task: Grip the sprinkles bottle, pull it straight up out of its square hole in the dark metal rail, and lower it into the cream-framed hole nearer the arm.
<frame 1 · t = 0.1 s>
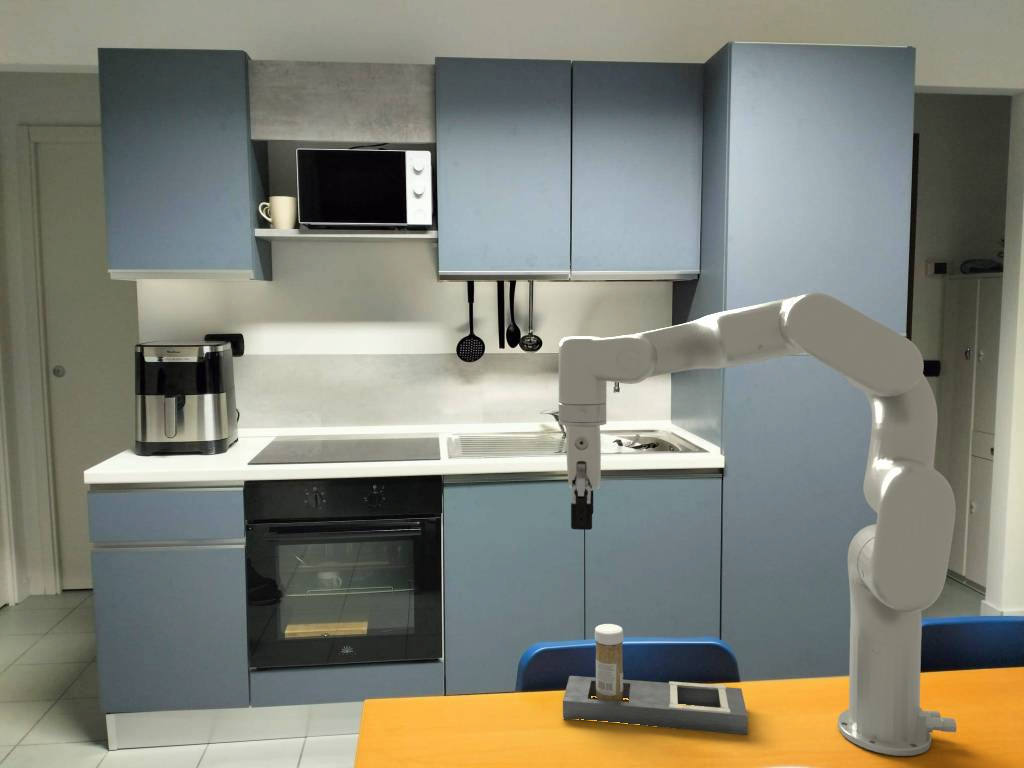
hand: (582, 521, 121), 31 cm above the table, tool pointing down, fingers open, 9 cm apart
rail: (653, 712, 122), on the table
sprinkles bottle: (609, 710, 123), resting in rail
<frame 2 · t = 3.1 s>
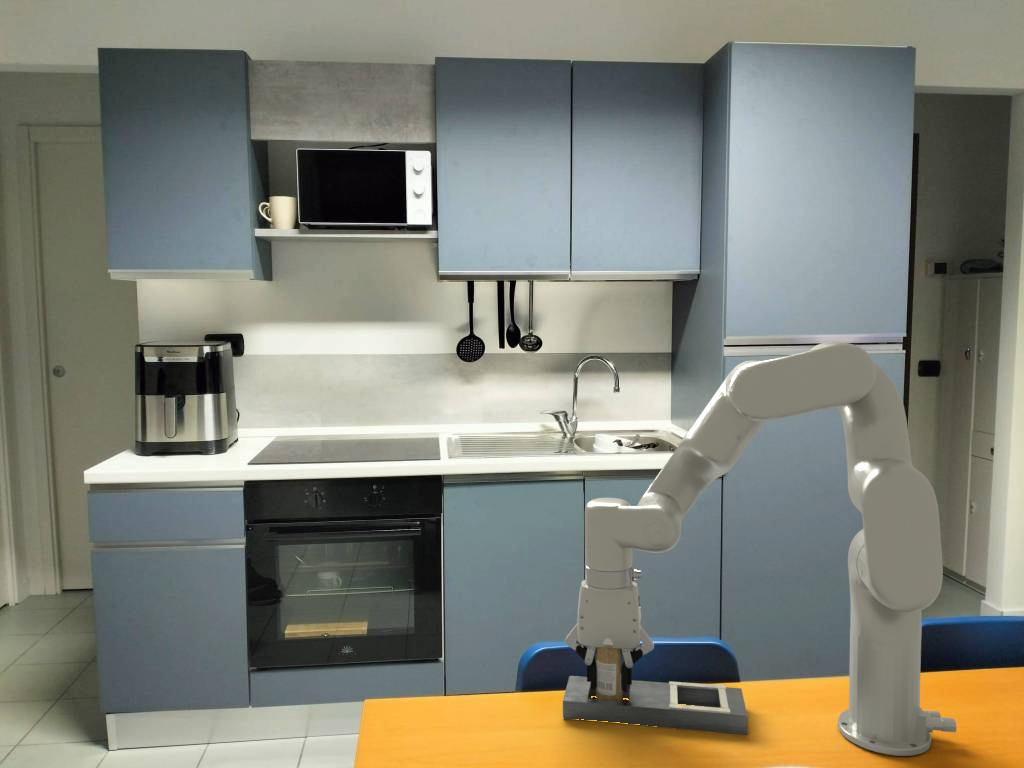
hand: (609, 685, 123), 4 cm above the table, tool pointing down, fingers closed on sprinkles bottle, 4 cm apart
sprinkles bottle: (609, 710, 123), resting in rail, touching gripper
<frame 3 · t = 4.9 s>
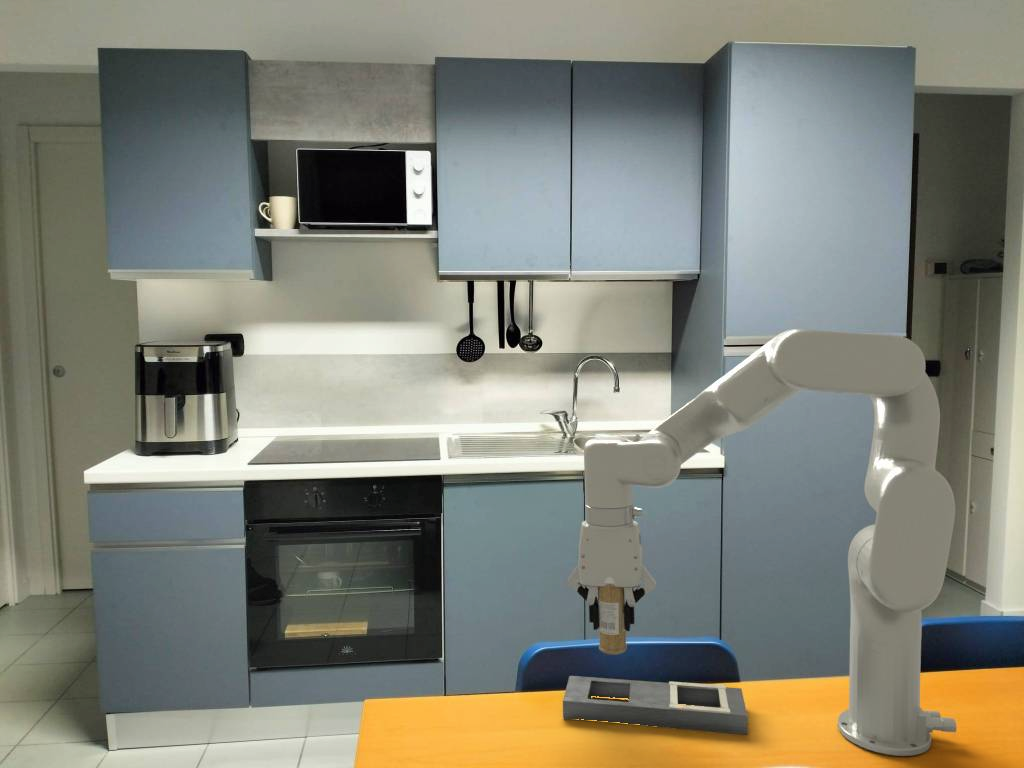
hand: (612, 626, 122), 14 cm above the table, tool pointing down, fingers closed on sprinkles bottle, 4 cm apart
sprinkles bottle: (612, 651, 122), point 10 cm above the table, touching gripper
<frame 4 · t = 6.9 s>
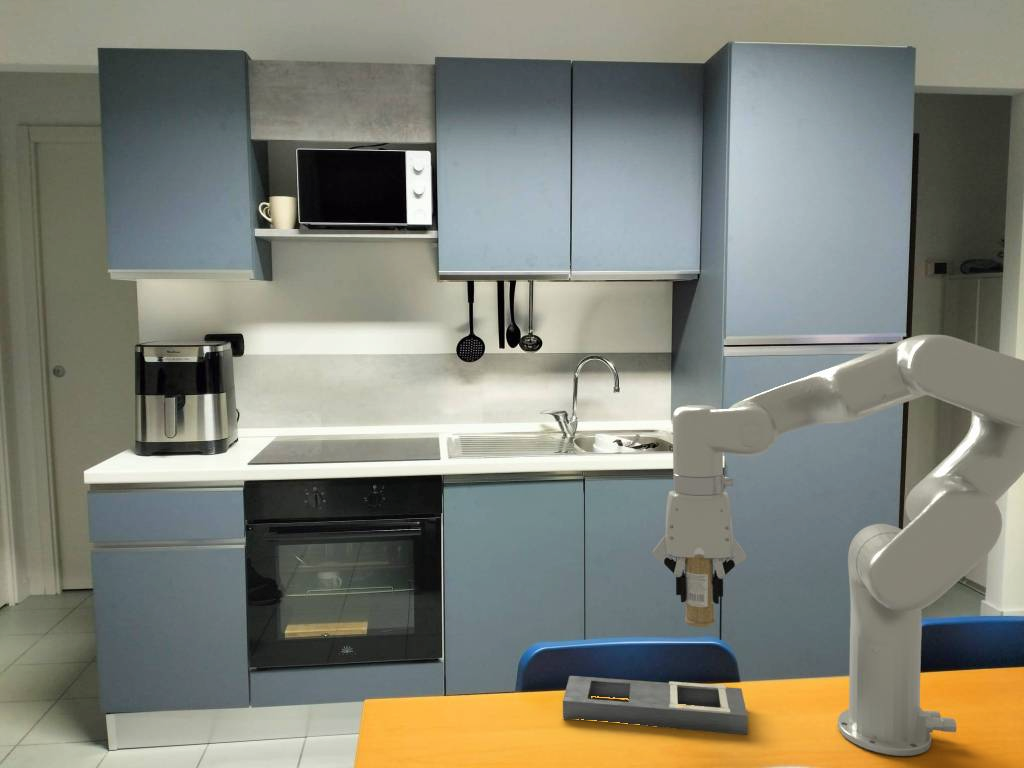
hand: (699, 599, 119), 19 cm above the table, tool pointing down, fingers closed on sprinkles bottle, 4 cm apart
sprinkles bottle: (699, 624, 119), point 15 cm above the table, touching gripper
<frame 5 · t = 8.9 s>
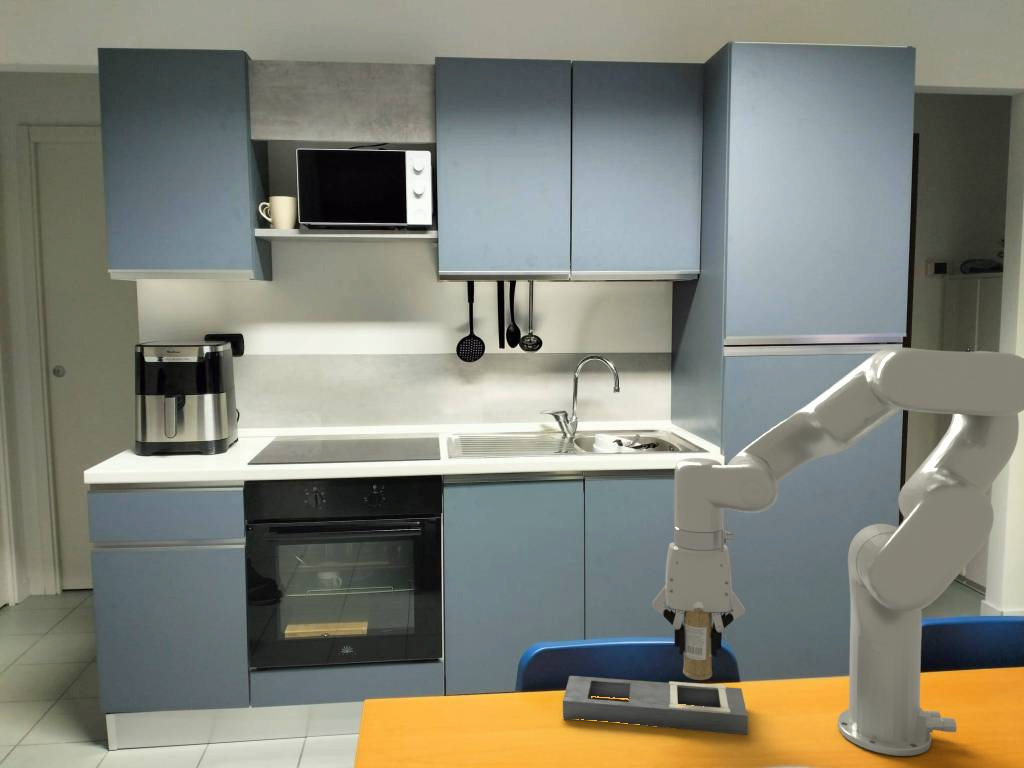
hand: (697, 651, 120), 11 cm above the table, tool pointing down, fingers closed on sprinkles bottle, 4 cm apart
sprinkles bottle: (697, 675, 120), point 7 cm above the table, touching gripper
when the fingers open (5 cm above the table, at t = 10.7 s): sprinkles bottle stays where it is, resting in rail.
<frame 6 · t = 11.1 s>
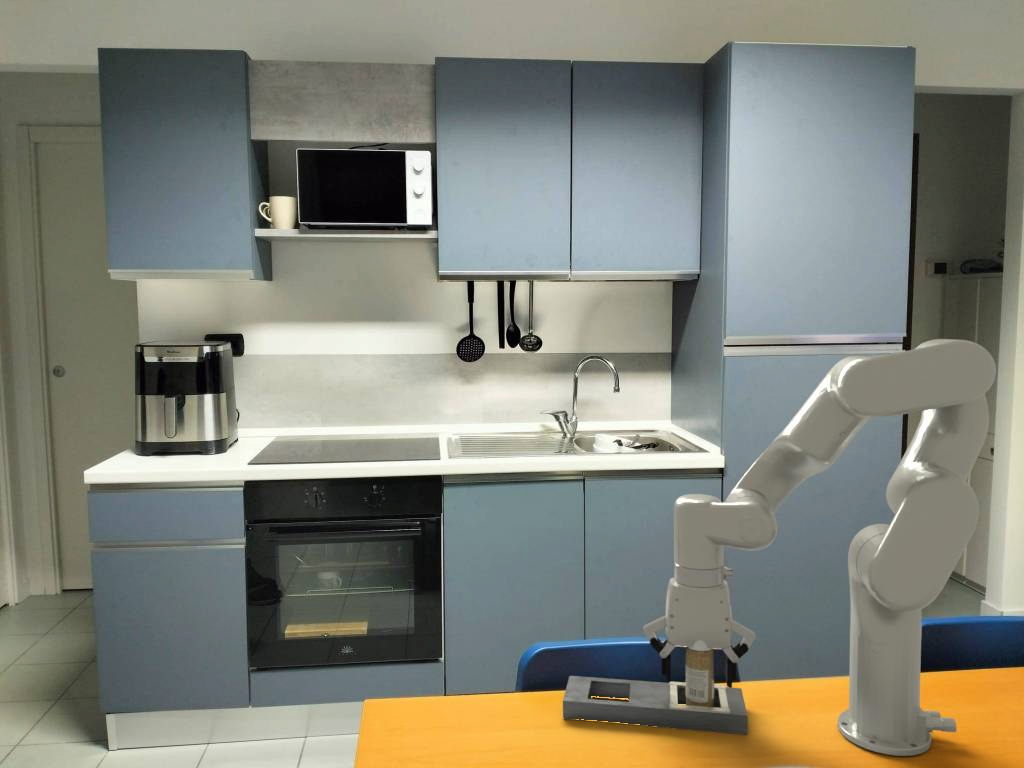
hand: (698, 681, 120), 6 cm above the table, tool pointing down, fingers open, 9 cm apart
sprinkles bottle: (699, 717, 120), resting in rail
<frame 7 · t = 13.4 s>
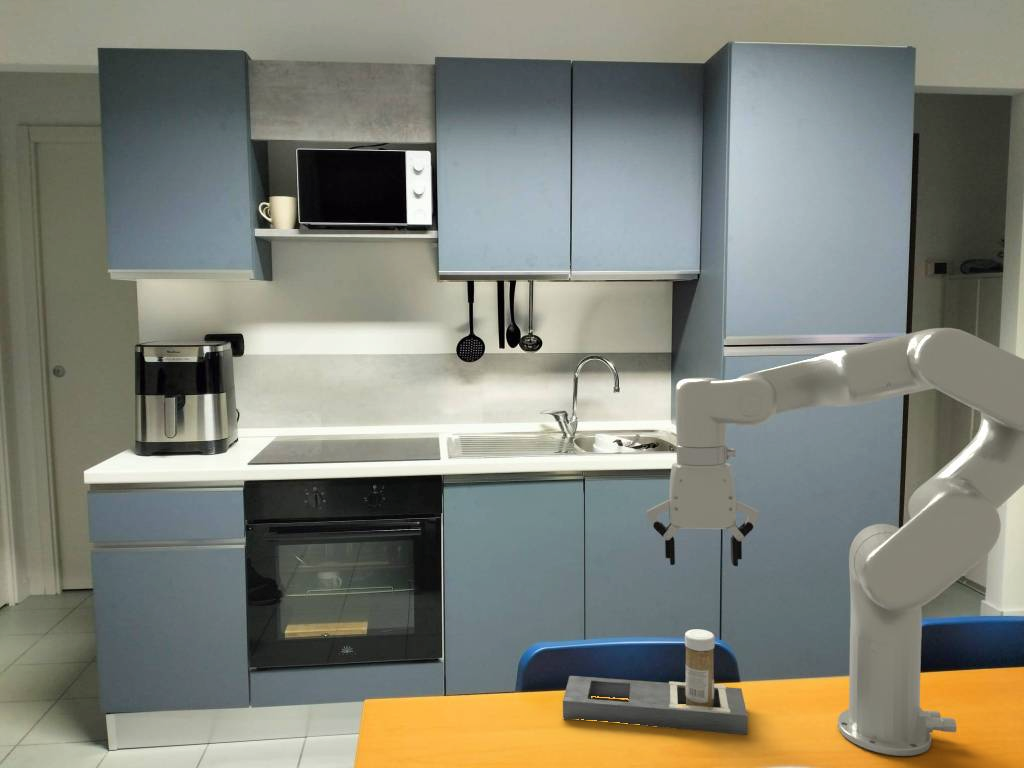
hand: (703, 563, 121), 24 cm above the table, tool pointing down, fingers open, 9 cm apart
nothing on the table moved.
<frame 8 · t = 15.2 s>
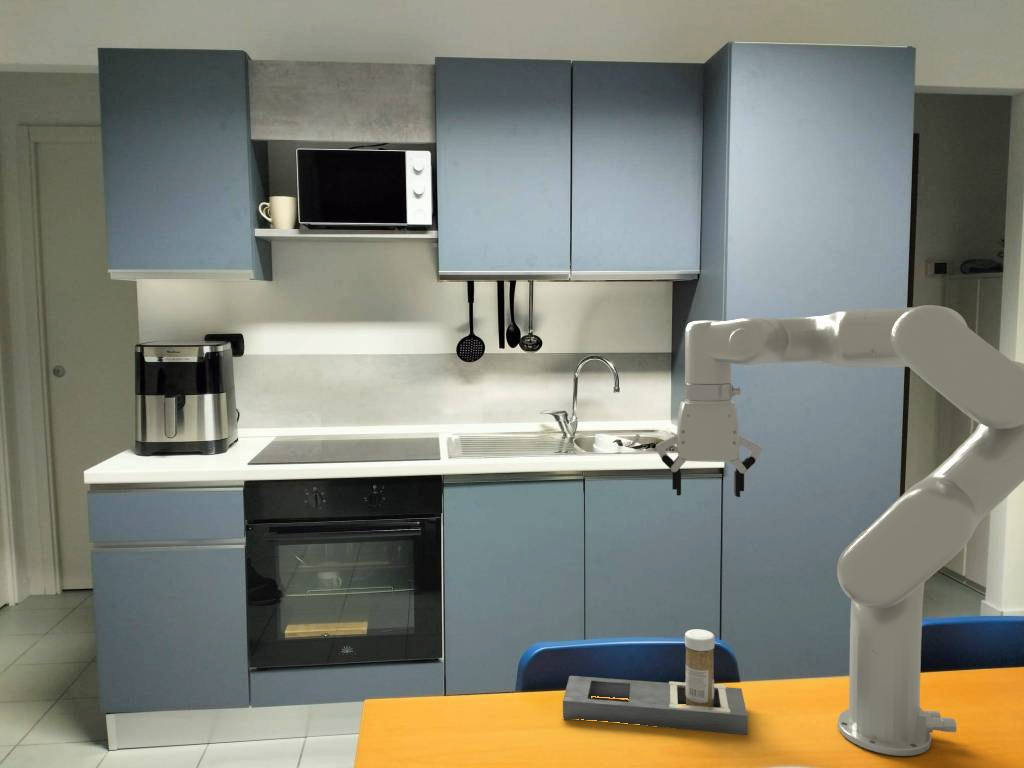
hand: (707, 494, 129), 33 cm above the table, tool pointing down, fingers open, 9 cm apart
nothing on the table moved.
at the end: sprinkles bottle 0.2 cm from the target spot on the rail, point 0.0 cm above the rail's base; sprinkles bottle tilted 0°; the gripper is holding nothing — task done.
